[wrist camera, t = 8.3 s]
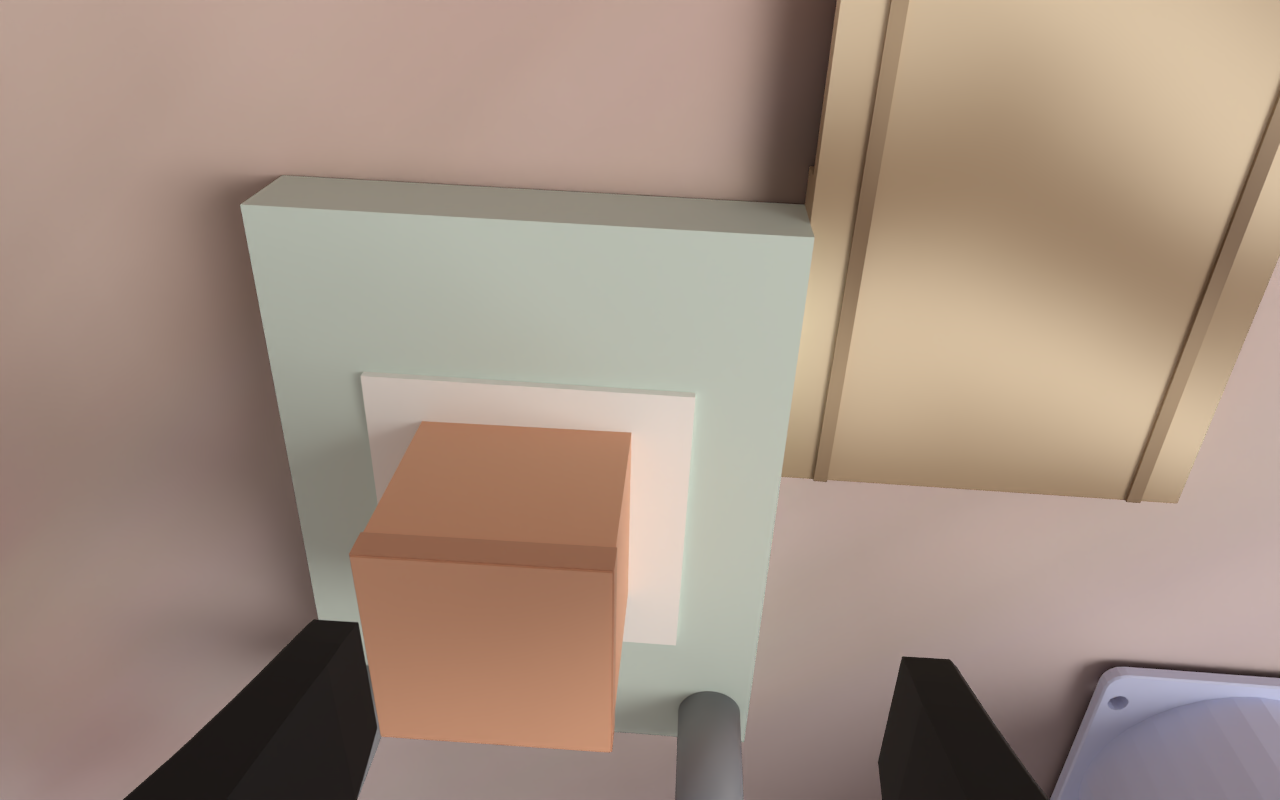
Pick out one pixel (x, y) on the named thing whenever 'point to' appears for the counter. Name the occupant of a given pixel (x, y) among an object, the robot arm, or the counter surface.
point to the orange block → (498, 586)
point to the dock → (554, 393)
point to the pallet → (1034, 241)
